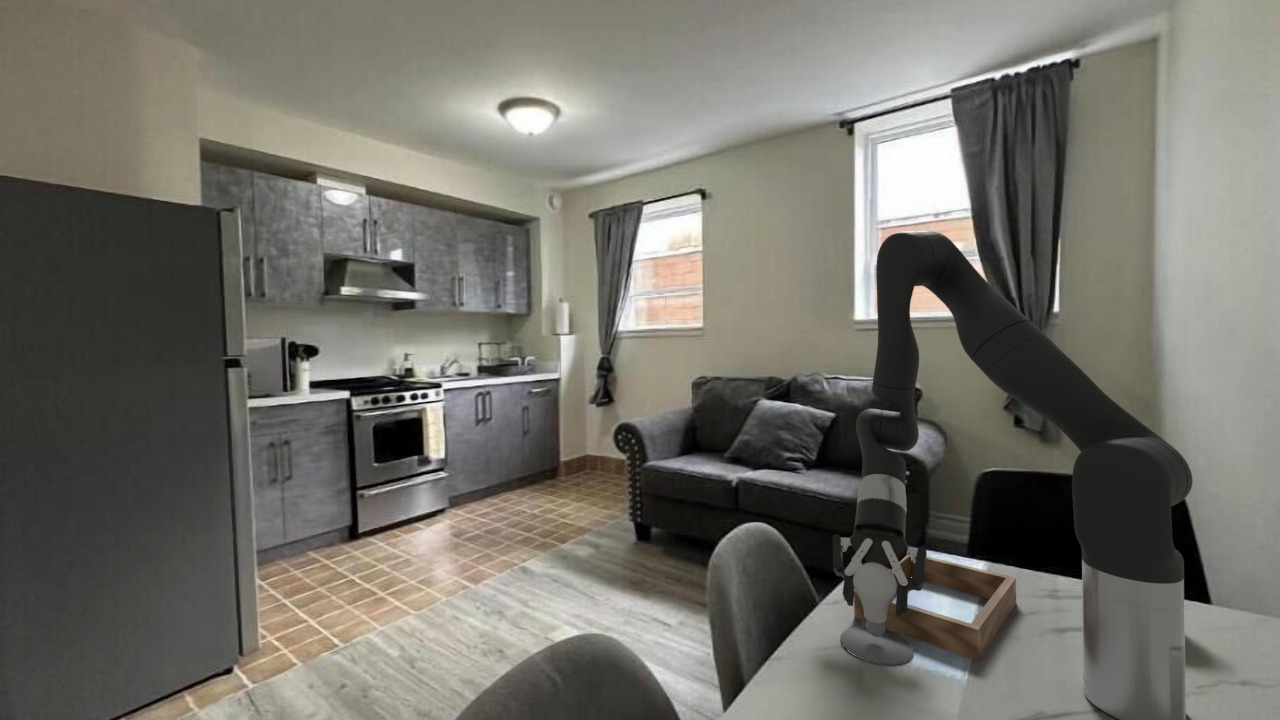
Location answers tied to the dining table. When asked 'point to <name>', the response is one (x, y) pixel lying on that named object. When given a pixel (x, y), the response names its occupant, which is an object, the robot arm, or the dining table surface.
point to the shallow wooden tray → (946, 629)
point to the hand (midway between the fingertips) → (874, 608)
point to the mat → (877, 646)
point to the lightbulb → (875, 594)
